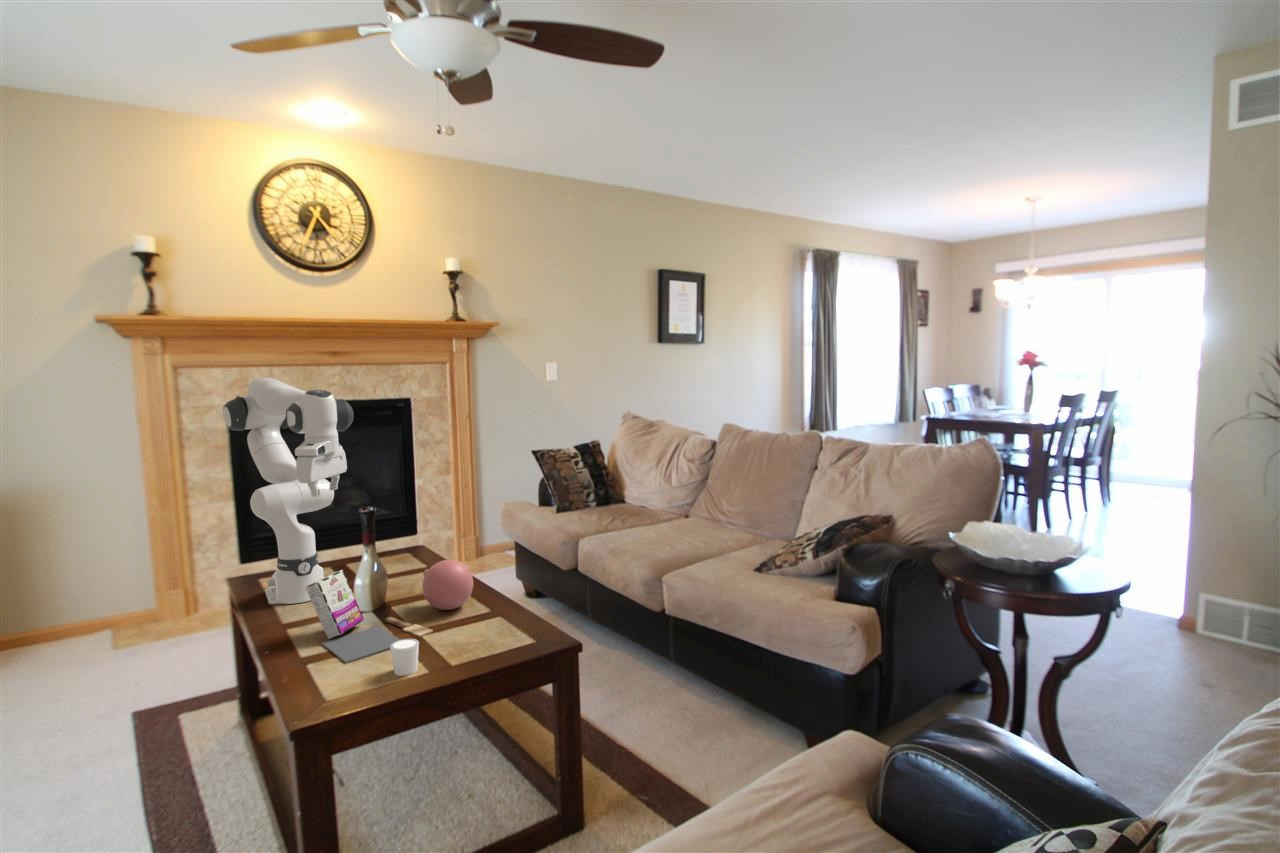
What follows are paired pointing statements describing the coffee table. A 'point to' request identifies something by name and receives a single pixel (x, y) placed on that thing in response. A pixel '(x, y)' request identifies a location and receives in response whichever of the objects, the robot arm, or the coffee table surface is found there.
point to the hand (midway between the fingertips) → (324, 493)
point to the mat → (361, 644)
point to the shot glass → (405, 656)
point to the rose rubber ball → (447, 584)
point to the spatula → (410, 627)
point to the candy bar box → (335, 604)
